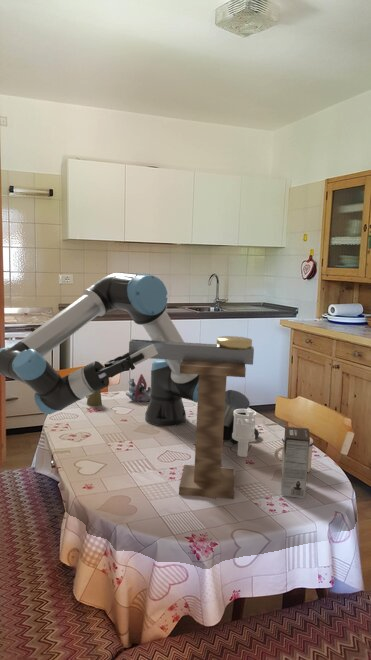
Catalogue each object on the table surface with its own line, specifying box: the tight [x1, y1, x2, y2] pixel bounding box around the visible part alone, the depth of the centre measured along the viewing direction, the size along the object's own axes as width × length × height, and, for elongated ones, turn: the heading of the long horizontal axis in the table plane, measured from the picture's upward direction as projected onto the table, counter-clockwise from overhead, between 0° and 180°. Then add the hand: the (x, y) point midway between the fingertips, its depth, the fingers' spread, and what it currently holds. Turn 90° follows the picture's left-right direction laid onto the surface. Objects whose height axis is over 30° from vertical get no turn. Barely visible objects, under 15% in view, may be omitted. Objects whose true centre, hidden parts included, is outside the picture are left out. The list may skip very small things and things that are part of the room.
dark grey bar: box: [128, 335, 255, 366], centre depth 131 cm, size 32×9×6 cm, turn 85°
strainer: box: [232, 408, 257, 458], centre depth 156 cm, size 7×7×15 cm
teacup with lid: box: [274, 435, 315, 473], centre depth 148 cm, size 12×9×12 cm
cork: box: [86, 390, 102, 407], centre depth 203 cm, size 6×6×11 cm
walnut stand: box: [178, 360, 247, 500], centre depth 133 cm, size 16×16×34 cm
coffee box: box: [280, 426, 310, 499], centre depth 133 cm, size 9×6×16 cm
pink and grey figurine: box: [125, 373, 151, 403], centre depth 212 cm, size 11×11×12 cm
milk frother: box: [223, 389, 260, 445], centre depth 169 cm, size 14×16×15 cm
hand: (159, 344), depth 131 cm, fingers open, 13 cm apart
